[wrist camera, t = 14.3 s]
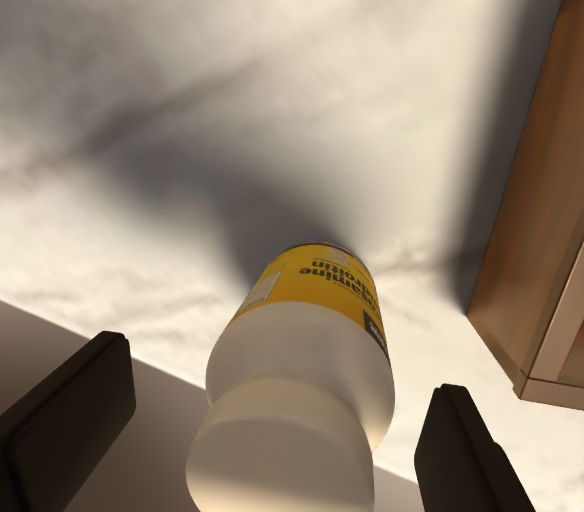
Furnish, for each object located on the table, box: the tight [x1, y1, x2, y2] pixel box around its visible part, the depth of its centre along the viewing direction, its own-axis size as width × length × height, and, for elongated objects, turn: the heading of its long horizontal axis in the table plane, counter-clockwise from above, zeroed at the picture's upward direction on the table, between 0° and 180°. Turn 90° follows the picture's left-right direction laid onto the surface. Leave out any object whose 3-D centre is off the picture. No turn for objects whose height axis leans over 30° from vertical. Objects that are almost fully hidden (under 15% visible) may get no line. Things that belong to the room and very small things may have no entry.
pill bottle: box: [186, 242, 395, 512], centre depth 13 cm, size 6×6×12 cm
